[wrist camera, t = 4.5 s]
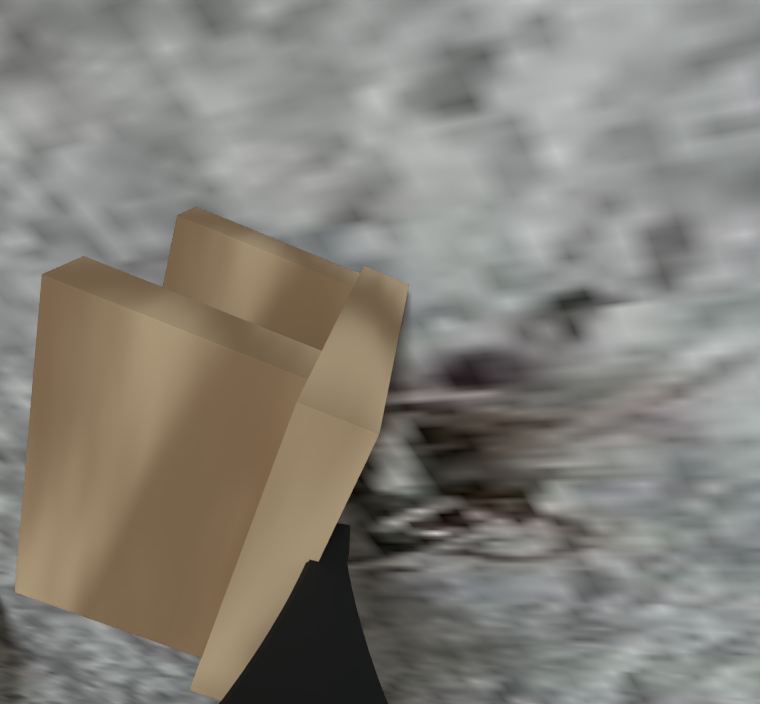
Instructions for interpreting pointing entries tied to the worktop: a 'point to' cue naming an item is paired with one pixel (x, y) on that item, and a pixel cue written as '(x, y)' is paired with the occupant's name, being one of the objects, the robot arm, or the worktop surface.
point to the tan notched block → (199, 435)
